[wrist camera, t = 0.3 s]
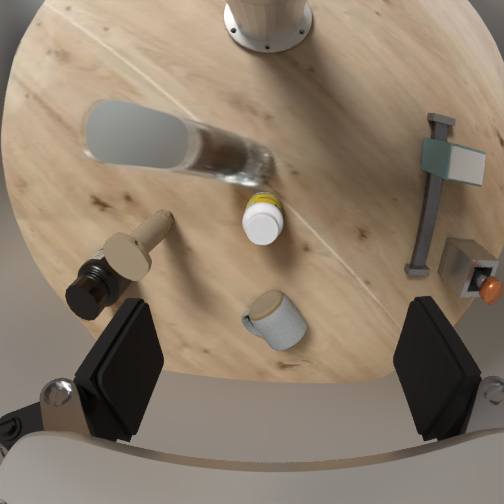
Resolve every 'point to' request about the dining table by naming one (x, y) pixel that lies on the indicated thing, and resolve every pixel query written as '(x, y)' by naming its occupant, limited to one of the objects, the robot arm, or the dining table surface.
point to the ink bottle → (95, 287)
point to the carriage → (453, 161)
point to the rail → (429, 203)
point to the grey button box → (465, 265)
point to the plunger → (487, 287)
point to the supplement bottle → (263, 218)
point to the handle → (137, 246)
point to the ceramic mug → (275, 320)
